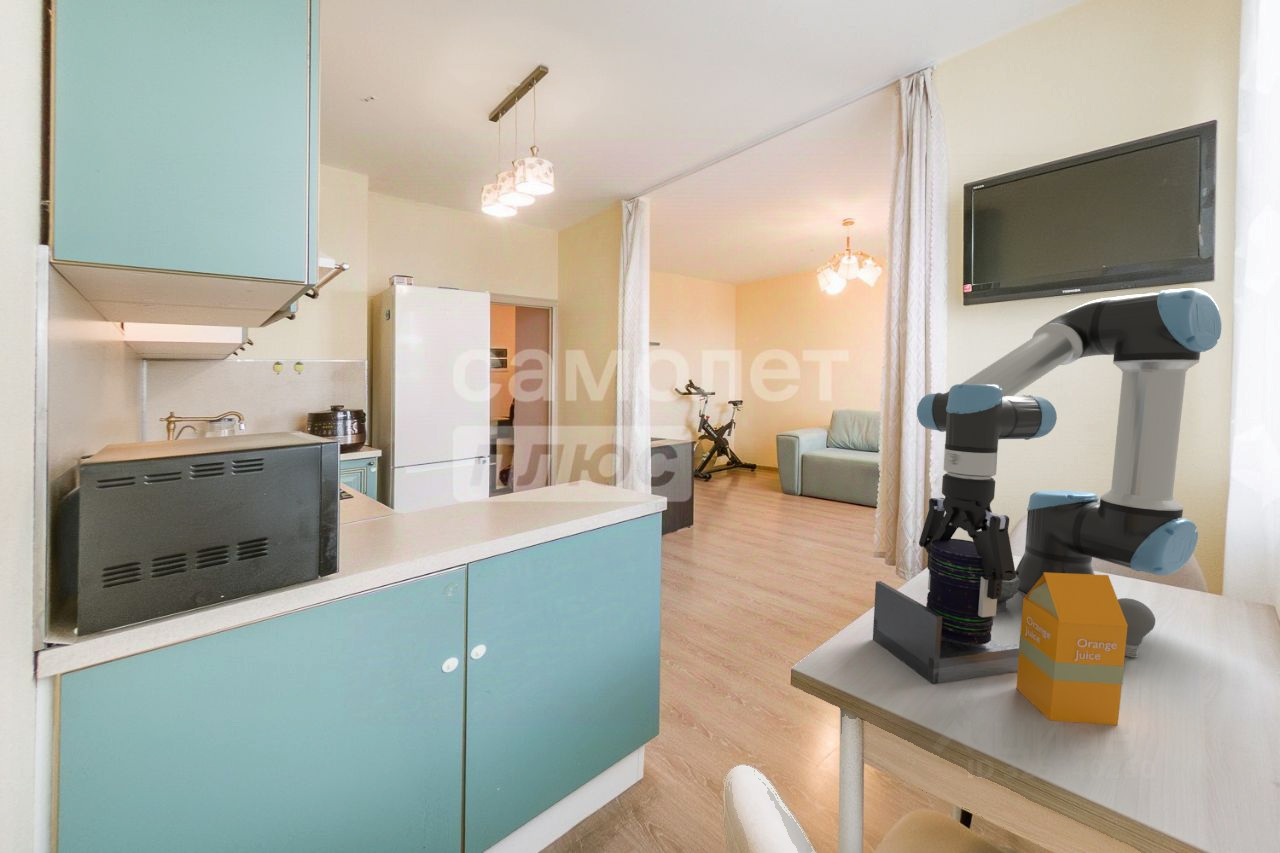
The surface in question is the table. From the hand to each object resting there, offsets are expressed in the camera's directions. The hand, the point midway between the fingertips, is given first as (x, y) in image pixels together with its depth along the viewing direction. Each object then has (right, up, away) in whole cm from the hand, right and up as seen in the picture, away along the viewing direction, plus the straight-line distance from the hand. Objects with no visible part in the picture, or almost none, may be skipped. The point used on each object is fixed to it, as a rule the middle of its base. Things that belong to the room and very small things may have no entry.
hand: (959, 601), depth 87 cm
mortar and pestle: (+20, -8, +21) cm, 29 cm away
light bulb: (+29, -10, 0) cm, 31 cm away
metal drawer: (-3, -9, 0) cm, 10 cm away
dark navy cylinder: (0, -5, 0) cm, 5 cm away
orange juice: (+7, -11, -13) cm, 19 cm away
